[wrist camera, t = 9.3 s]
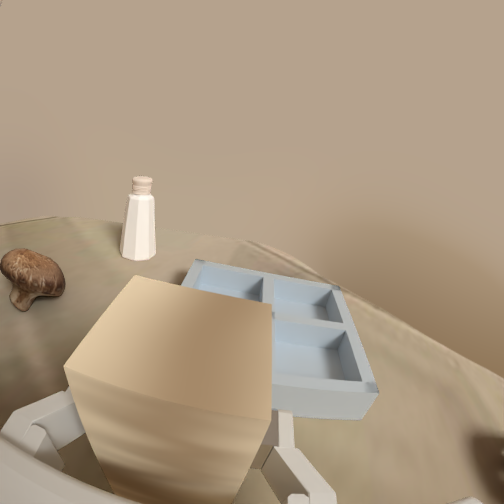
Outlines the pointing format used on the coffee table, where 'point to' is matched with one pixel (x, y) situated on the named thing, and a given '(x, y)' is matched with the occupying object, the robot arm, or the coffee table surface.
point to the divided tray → (302, 340)
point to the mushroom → (31, 276)
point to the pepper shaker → (139, 222)
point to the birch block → (175, 391)
